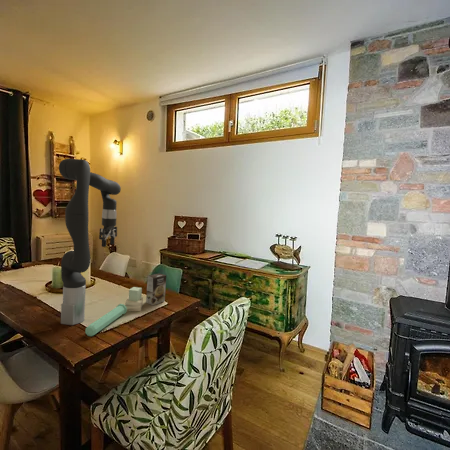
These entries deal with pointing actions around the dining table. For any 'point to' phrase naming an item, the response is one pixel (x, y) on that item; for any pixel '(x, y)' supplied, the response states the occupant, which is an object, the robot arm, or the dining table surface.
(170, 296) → the dining table surface
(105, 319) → the container
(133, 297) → the sage block
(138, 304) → the birch base
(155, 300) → the coffee box
